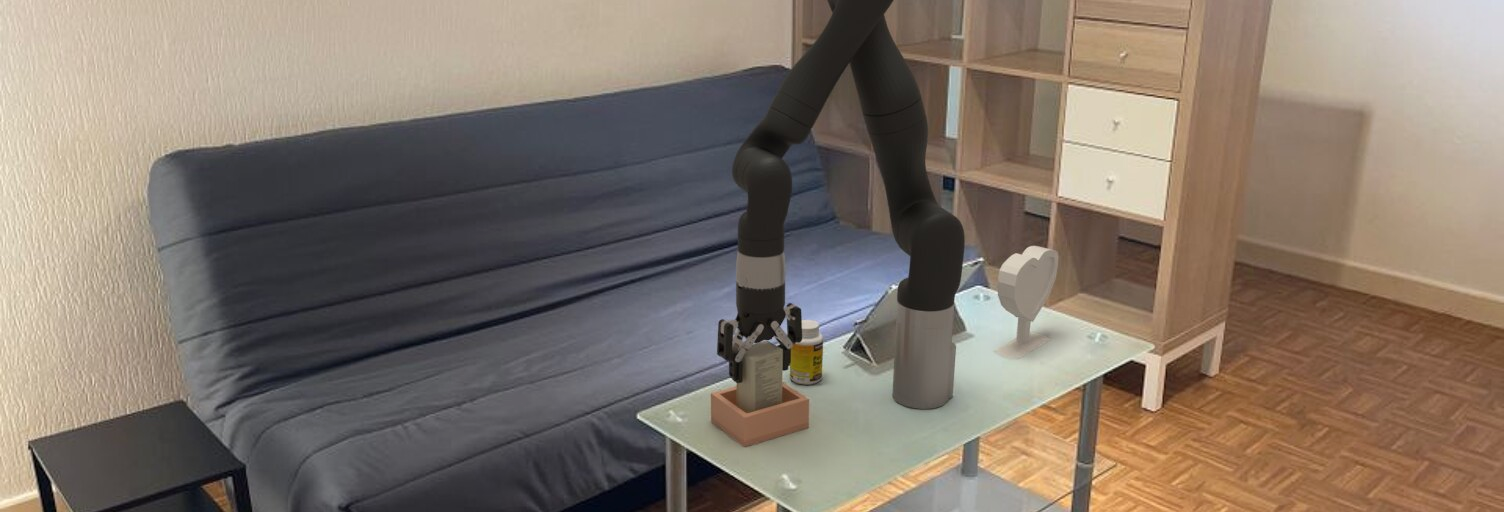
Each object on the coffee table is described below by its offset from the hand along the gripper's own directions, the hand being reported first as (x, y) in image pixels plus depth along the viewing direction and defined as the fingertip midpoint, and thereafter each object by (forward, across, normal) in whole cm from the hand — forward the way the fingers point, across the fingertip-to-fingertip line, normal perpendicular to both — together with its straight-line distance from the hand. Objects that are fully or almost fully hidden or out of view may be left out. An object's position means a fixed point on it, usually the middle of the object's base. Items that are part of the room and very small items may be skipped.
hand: (759, 375), depth 194 cm
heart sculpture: (+9, -58, -1) cm, 59 cm away
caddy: (+9, 0, 0) cm, 9 cm away
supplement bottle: (+9, -16, -10) cm, 21 cm away
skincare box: (+8, 0, 0) cm, 8 cm away
